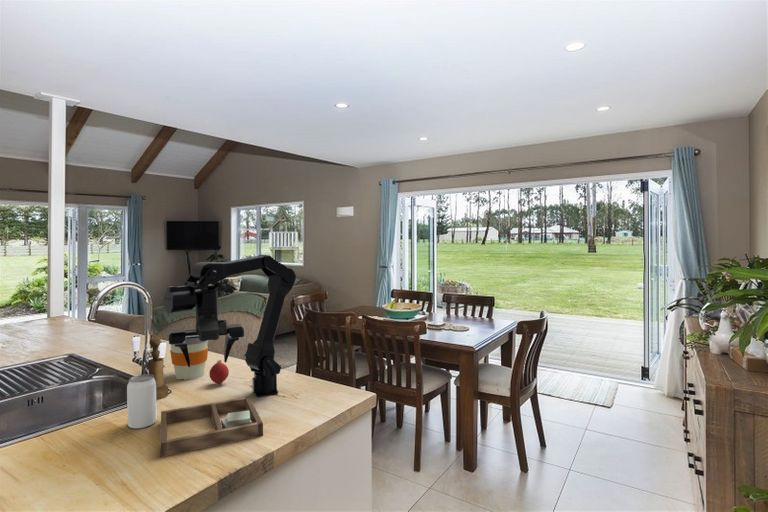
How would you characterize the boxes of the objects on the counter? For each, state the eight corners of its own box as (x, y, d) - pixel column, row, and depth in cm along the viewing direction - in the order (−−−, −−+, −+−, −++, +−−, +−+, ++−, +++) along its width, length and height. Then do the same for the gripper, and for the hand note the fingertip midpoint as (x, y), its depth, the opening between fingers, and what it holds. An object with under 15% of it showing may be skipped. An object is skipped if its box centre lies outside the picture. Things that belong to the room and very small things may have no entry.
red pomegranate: (222, 388, 134) (221, 363, 134) (205, 386, 135) (205, 362, 135) (232, 381, 140) (231, 358, 139) (216, 380, 141) (216, 357, 140)
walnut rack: (249, 407, 119) (249, 396, 119) (263, 435, 102) (262, 423, 102) (161, 422, 109) (161, 411, 109) (160, 456, 92) (160, 443, 92)
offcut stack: (249, 423, 109) (249, 408, 109) (254, 433, 103) (254, 417, 103) (221, 428, 106) (220, 413, 105) (224, 439, 100) (223, 423, 100)
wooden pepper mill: (173, 393, 129) (172, 335, 128) (155, 401, 123) (154, 340, 122) (157, 390, 131) (155, 333, 131) (138, 398, 125) (137, 338, 125)
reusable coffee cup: (204, 380, 141) (203, 336, 140) (164, 382, 139) (163, 337, 138) (213, 368, 153) (212, 328, 153) (176, 370, 151) (175, 329, 151)
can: (147, 416, 113) (146, 372, 112) (162, 421, 110) (161, 376, 109) (122, 426, 107) (121, 379, 107) (137, 431, 104) (136, 383, 103)
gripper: (168, 316, 104) (169, 378, 104) (246, 310, 112) (247, 367, 113) (168, 309, 114) (169, 366, 114) (240, 304, 122) (241, 357, 123)
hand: (207, 364), depth 116 cm, fingers open, 9 cm apart
